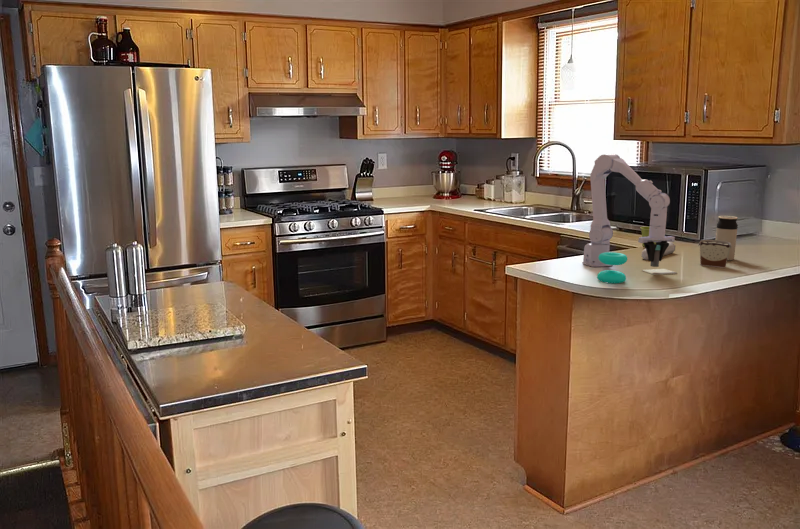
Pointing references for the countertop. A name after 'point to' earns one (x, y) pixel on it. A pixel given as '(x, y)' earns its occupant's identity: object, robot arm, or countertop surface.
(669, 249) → the tube
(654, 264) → the marker
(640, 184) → the robot arm
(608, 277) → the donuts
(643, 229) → the plant pot
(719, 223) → the travel mug
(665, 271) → the notepad
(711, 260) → the food container
